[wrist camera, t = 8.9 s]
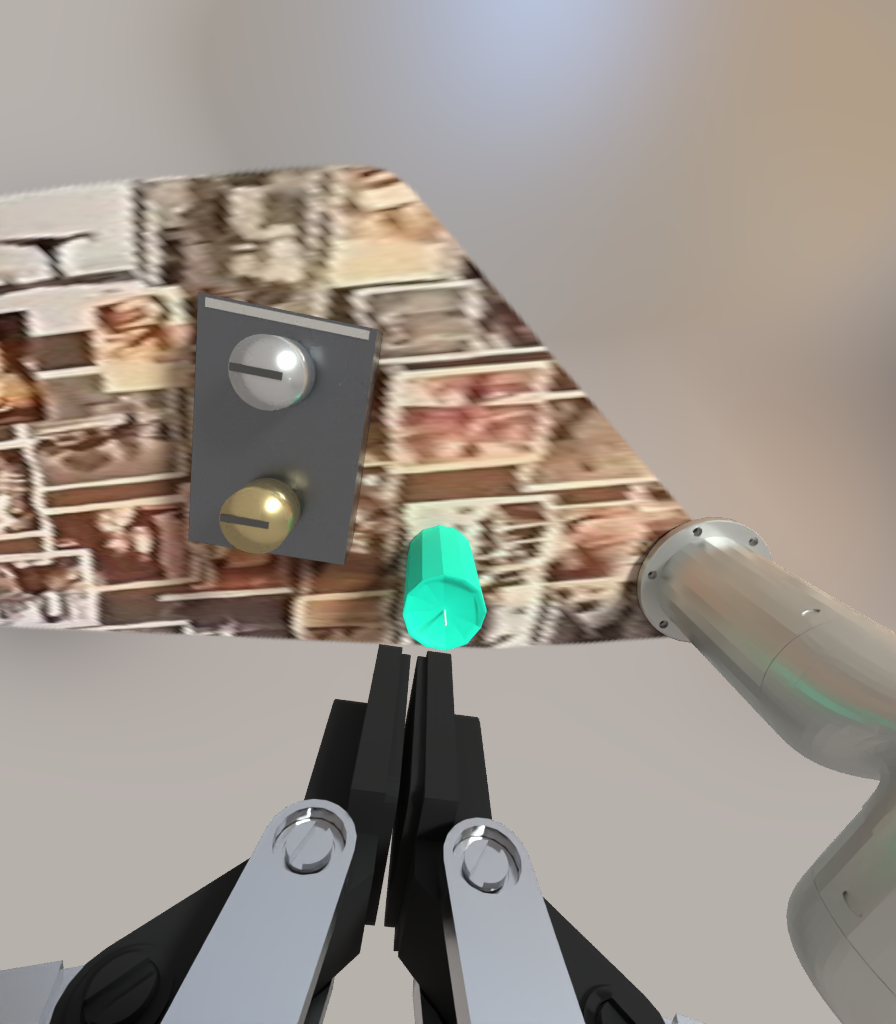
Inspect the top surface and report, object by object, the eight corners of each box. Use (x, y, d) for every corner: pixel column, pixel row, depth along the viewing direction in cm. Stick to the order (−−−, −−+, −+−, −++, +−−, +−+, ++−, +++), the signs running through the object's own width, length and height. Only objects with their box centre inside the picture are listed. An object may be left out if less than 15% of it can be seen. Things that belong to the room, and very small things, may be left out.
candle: (429, 597, 46) (431, 676, 34) (394, 546, 44) (384, 613, 33) (484, 565, 45) (505, 636, 34) (451, 513, 43) (460, 569, 32)
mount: (383, 332, 39) (377, 329, 34) (352, 542, 44) (343, 565, 39) (227, 300, 37) (197, 292, 32) (214, 520, 42) (187, 541, 38)
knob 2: (315, 470, 40) (290, 497, 33) (309, 522, 42) (284, 559, 34) (259, 460, 40) (220, 485, 32) (254, 513, 41) (216, 548, 34)
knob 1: (330, 345, 37) (306, 342, 30) (323, 405, 39) (299, 417, 31) (269, 332, 37) (229, 326, 29) (264, 394, 38) (225, 403, 31)
